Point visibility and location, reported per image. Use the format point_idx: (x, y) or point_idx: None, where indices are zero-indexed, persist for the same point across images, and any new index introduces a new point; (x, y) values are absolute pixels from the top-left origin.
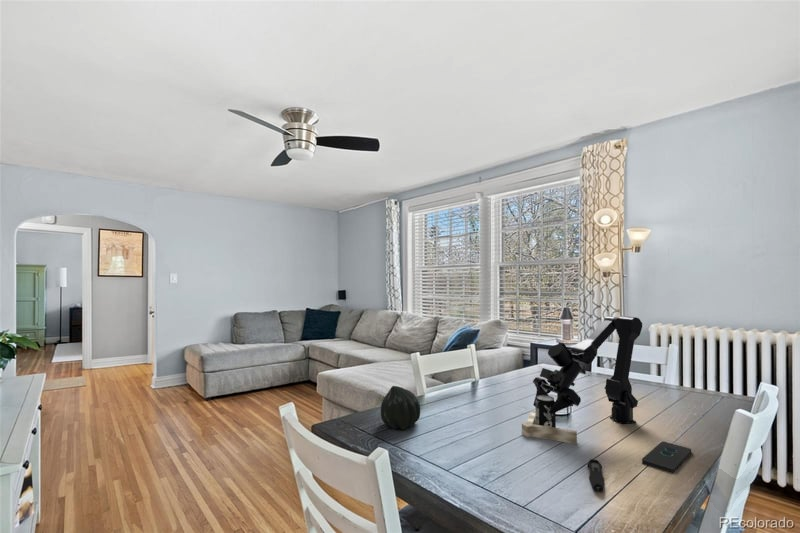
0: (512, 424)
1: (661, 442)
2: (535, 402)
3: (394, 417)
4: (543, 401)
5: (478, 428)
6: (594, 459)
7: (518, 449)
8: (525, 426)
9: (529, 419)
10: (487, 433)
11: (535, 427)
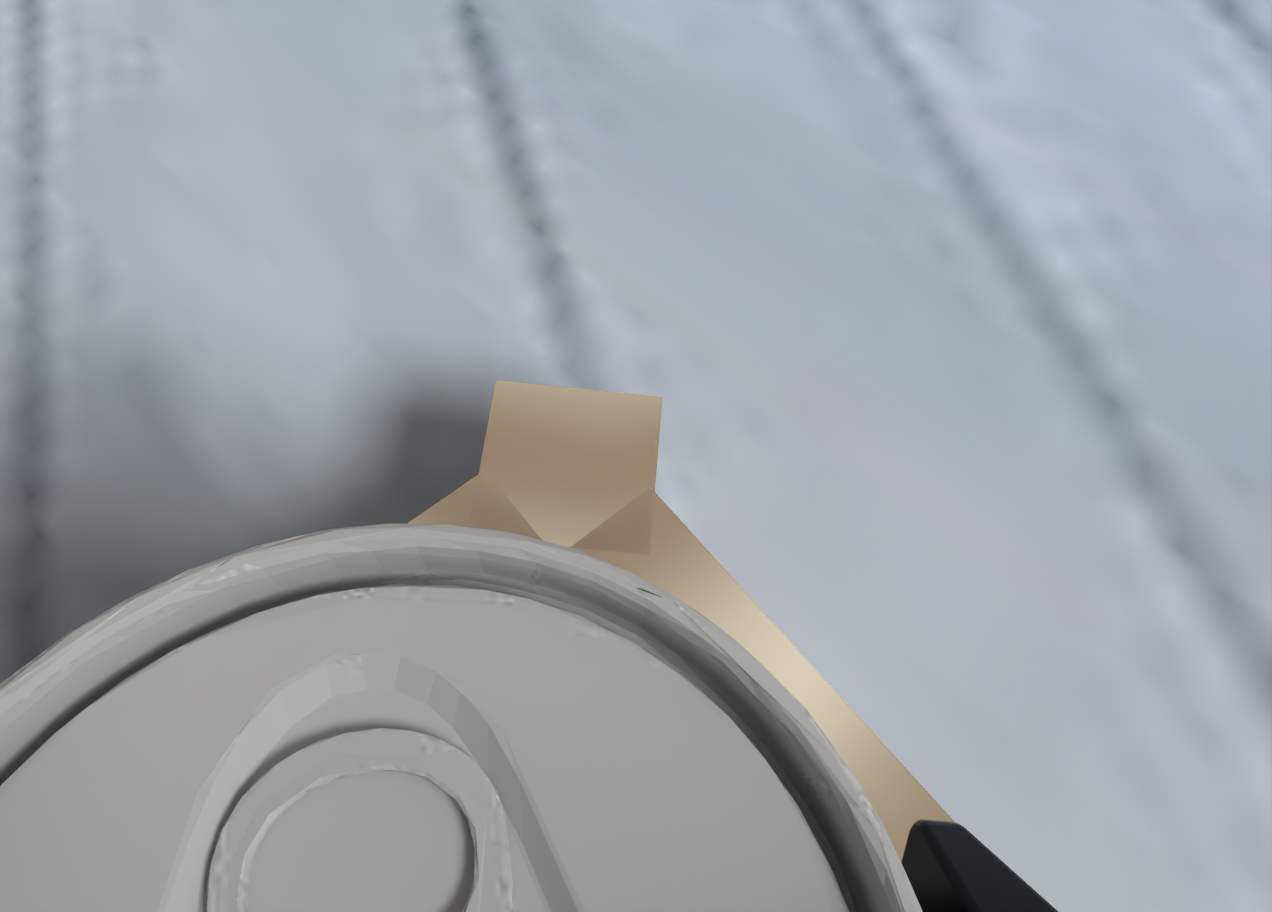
0: (1052, 620)
1: None
2: (951, 893)
3: None
4: (178, 619)
5: (1009, 134)
6: None
7: (289, 137)
8: (548, 392)
9: (799, 701)
10: (832, 131)
11: (421, 519)
